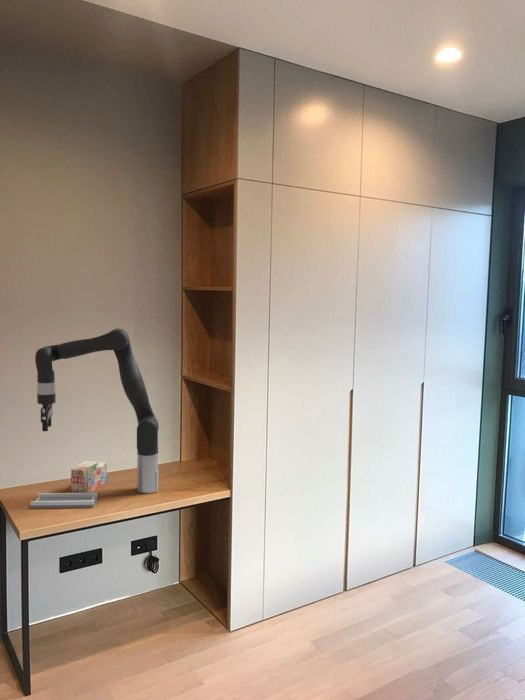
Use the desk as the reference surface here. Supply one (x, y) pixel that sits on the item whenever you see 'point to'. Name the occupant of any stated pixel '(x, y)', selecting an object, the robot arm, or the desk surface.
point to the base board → (64, 500)
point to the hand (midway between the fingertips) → (47, 428)
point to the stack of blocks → (88, 476)
